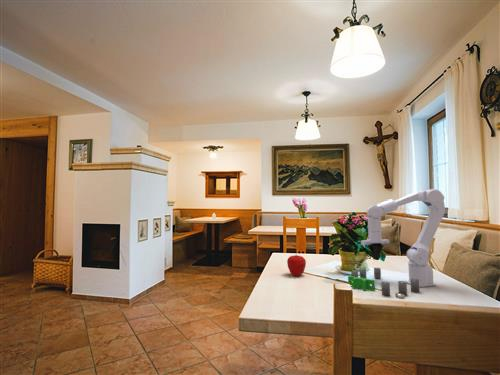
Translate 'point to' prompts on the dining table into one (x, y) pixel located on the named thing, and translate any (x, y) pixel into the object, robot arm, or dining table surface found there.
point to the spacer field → (386, 285)
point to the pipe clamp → (361, 283)
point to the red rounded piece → (296, 265)
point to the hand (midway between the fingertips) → (375, 259)
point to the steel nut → (399, 295)
